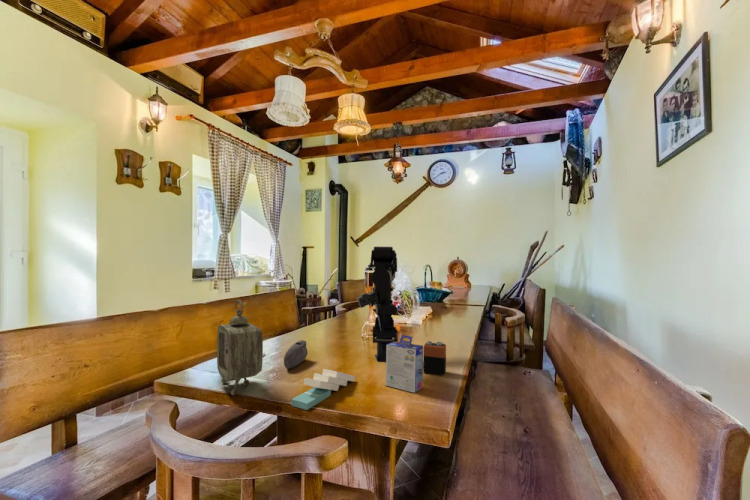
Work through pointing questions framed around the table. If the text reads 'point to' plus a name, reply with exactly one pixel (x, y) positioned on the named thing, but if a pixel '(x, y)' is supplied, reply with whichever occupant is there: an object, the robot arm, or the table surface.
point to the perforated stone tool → (295, 354)
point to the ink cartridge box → (404, 365)
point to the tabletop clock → (239, 349)
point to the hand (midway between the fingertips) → (382, 331)
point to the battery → (435, 358)
